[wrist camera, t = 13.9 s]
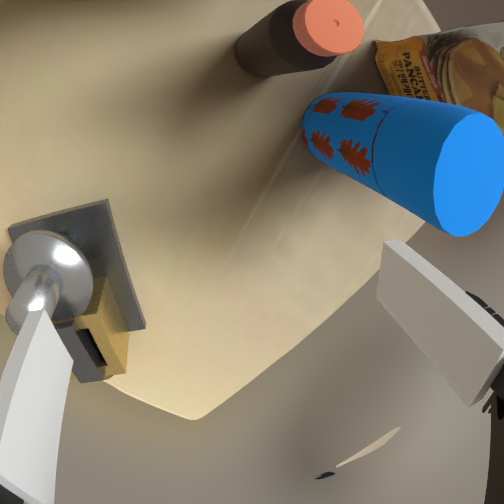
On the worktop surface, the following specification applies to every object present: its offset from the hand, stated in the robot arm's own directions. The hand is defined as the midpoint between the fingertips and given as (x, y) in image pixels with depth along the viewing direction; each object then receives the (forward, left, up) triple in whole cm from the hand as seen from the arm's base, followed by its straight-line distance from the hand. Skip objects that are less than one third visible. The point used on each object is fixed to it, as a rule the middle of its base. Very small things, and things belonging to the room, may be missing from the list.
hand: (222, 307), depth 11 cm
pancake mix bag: (-8, +33, -32) cm, 47 cm away
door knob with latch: (+15, -19, -32) cm, 40 cm away
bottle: (-12, +11, -32) cm, 36 cm away
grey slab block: (+20, -19, -30) cm, 40 cm away
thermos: (-1, +21, -32) cm, 38 cm away
